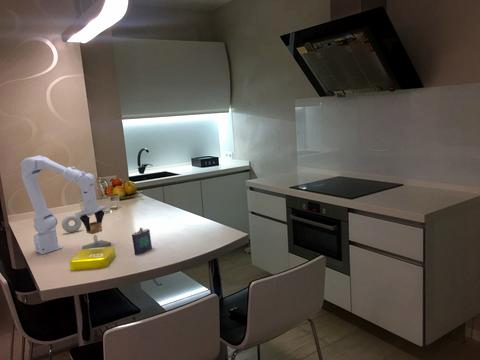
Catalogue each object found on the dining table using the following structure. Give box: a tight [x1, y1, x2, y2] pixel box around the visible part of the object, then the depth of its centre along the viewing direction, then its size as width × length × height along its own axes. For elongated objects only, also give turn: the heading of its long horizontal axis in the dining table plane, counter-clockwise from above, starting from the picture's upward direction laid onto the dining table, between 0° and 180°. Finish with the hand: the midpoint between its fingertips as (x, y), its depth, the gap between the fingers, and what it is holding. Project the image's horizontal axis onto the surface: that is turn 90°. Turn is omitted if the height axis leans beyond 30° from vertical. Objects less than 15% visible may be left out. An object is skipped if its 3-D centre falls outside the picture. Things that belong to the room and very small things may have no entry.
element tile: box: [69, 246, 117, 272], centre depth 170 cm, size 15×15×5 cm
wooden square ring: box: [85, 221, 103, 235], centre depth 187 cm, size 5×5×4 cm
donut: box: [61, 213, 83, 234], centre depth 217 cm, size 10×4×10 cm, turn 121°
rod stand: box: [81, 234, 112, 250], centre depth 188 cm, size 10×8×6 cm
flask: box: [131, 227, 153, 256], centre depth 178 cm, size 9×3×11 cm, turn 144°
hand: (94, 229), depth 187 cm, fingers closed on wooden square ring, 5 cm apart
